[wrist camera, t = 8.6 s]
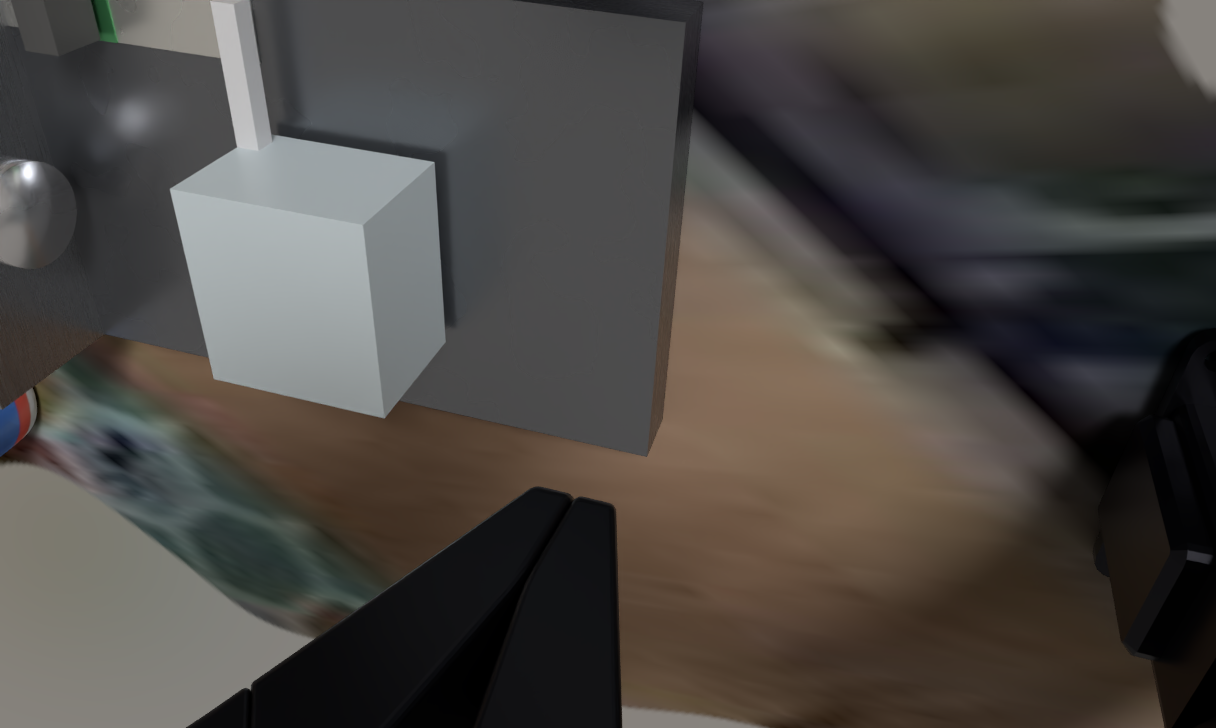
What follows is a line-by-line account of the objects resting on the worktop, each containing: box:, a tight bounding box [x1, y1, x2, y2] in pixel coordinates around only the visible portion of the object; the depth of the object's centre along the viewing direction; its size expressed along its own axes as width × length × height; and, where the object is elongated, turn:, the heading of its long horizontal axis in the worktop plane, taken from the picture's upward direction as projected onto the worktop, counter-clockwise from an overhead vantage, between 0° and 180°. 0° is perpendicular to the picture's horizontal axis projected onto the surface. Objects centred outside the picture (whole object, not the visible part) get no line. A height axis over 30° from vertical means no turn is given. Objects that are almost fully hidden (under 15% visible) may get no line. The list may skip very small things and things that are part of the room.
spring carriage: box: [170, 0, 446, 418], centre depth 19 cm, size 4×7×3 cm, turn 178°
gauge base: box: [0, 0, 703, 457], centre depth 21 cm, size 17×10×5 cm, turn 88°
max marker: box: [11, 0, 101, 56], centre depth 20 cm, size 1×2×1 cm, turn 178°
